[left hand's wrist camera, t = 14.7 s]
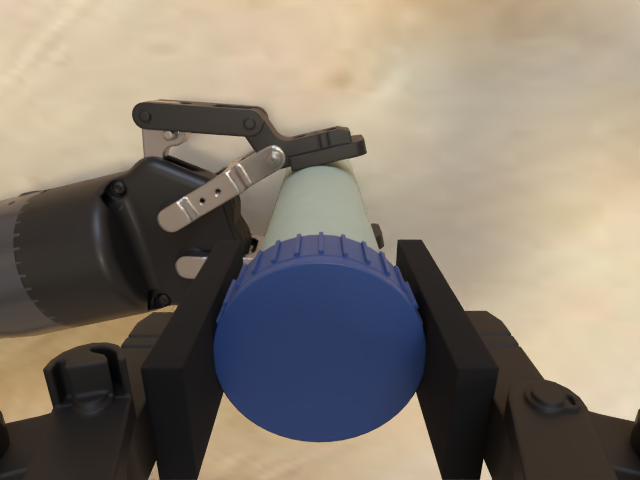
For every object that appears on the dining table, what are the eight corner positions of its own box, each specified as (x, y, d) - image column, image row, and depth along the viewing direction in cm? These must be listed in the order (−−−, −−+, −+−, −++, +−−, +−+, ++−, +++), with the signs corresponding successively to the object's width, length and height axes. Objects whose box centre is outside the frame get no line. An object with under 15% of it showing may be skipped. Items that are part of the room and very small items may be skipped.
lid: (207, 373, 13) (190, 419, 11) (248, 206, 11) (235, 230, 9) (378, 413, 13) (387, 463, 11) (443, 260, 11) (465, 293, 10)
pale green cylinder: (286, 142, 28) (227, 266, 10) (353, 142, 28) (412, 266, 10) (288, 206, 30) (239, 413, 12) (351, 207, 30) (400, 413, 12)
